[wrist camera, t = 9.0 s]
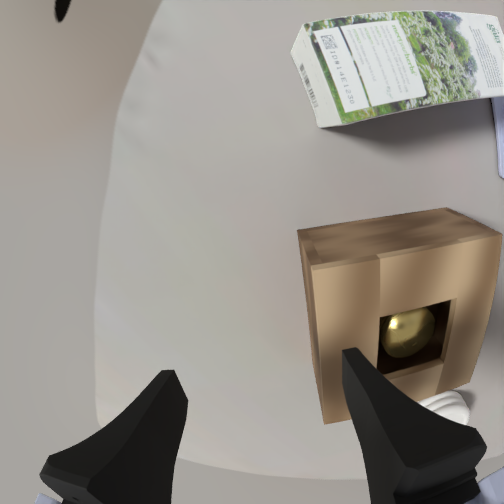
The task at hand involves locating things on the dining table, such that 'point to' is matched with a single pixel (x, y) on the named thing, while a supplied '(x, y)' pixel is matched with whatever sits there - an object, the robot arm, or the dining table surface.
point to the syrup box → (397, 62)
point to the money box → (398, 297)
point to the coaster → (448, 406)
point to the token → (406, 331)
